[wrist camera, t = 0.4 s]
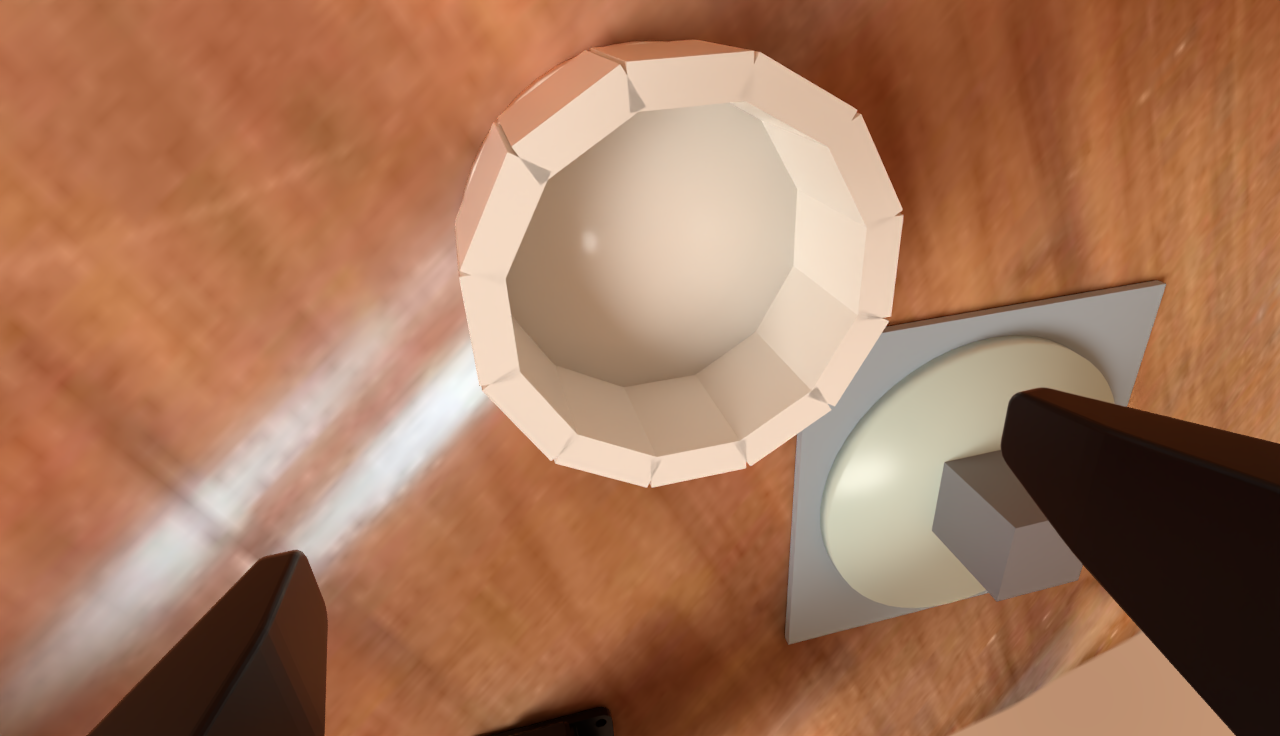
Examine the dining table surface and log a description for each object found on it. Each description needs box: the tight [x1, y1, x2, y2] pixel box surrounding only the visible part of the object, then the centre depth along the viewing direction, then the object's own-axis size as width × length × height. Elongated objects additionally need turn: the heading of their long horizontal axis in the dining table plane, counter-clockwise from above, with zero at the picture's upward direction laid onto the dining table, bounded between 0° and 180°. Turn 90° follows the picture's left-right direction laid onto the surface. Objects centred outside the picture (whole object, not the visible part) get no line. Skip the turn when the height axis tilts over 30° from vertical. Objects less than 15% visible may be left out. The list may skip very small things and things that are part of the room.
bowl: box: [455, 39, 904, 487], centre depth 20 cm, size 11×11×5 cm
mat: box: [785, 280, 1166, 644], centre depth 30 cm, size 15×15×1 cm
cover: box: [820, 335, 1115, 608], centre depth 28 cm, size 13×13×5 cm
